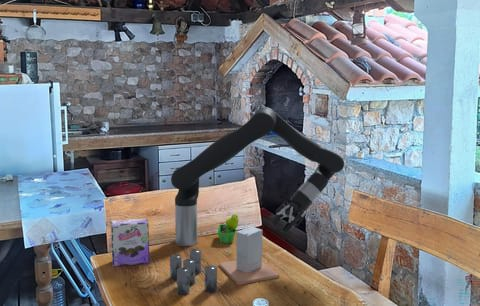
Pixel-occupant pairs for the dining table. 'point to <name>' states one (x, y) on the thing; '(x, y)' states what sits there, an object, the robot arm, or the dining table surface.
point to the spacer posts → (191, 272)
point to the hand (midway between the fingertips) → (277, 228)
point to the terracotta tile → (244, 278)
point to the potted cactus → (228, 230)
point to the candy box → (130, 242)
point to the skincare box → (249, 249)
